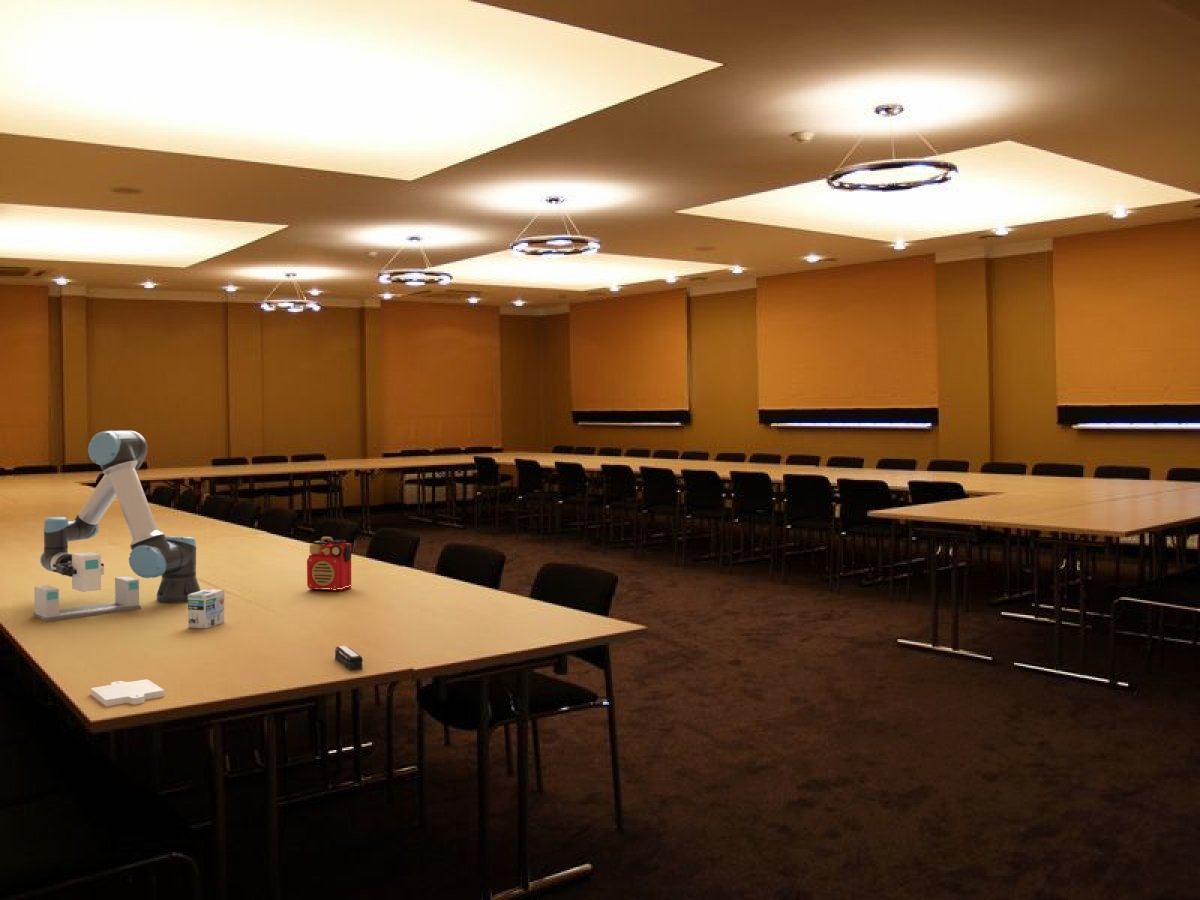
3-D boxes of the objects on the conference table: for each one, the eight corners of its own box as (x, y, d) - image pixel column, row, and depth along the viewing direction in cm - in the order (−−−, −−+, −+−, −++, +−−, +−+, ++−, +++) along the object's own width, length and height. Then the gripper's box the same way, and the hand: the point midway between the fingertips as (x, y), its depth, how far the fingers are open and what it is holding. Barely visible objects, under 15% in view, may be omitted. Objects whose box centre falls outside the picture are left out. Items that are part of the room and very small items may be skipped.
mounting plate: (167, 700, 237) (167, 692, 237) (109, 710, 228) (109, 702, 228) (143, 684, 251) (143, 677, 250) (87, 693, 242) (87, 685, 242)
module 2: (127, 601, 354) (126, 576, 354) (139, 605, 347) (139, 579, 347) (115, 602, 351) (115, 577, 351) (127, 606, 344) (127, 580, 344)
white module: (90, 586, 345) (90, 551, 344) (101, 590, 338) (101, 554, 338) (72, 588, 340) (71, 553, 340) (82, 592, 334) (82, 556, 333)
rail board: (125, 603, 355) (125, 600, 355) (141, 608, 346) (141, 605, 346) (33, 615, 333) (33, 612, 333) (47, 621, 324) (47, 618, 324)
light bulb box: (206, 629, 314) (205, 595, 314) (187, 628, 315) (186, 594, 315) (225, 622, 324) (225, 589, 324) (206, 621, 326) (206, 588, 325)
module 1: (47, 611, 335) (47, 585, 334) (59, 616, 328) (59, 588, 327) (34, 613, 332) (34, 586, 331) (46, 617, 325) (45, 590, 324)
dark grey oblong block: (335, 678, 259) (335, 661, 259) (312, 657, 280) (312, 642, 280) (389, 671, 266) (389, 655, 266) (363, 651, 288) (363, 637, 287)
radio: (304, 590, 383) (304, 538, 382) (318, 586, 393) (317, 535, 392) (342, 592, 379) (341, 540, 379) (354, 588, 389) (354, 537, 388)
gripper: (94, 571, 358) (121, 579, 343) (36, 577, 344) (62, 586, 329) (94, 551, 358) (121, 558, 343) (36, 556, 344) (62, 563, 328)
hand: (92, 571), depth 336 cm, fingers closed on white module, 6 cm apart
